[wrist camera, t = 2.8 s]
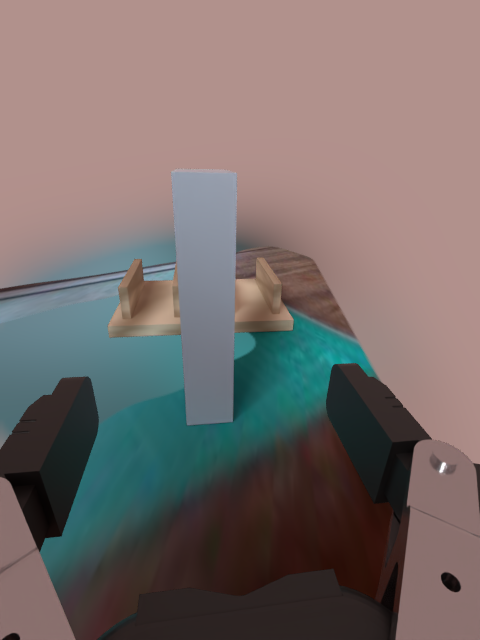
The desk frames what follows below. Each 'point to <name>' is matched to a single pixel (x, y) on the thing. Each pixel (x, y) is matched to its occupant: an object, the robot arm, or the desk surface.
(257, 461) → the desk surface
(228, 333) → the grey tall block
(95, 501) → the desk surface
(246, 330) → the rack
